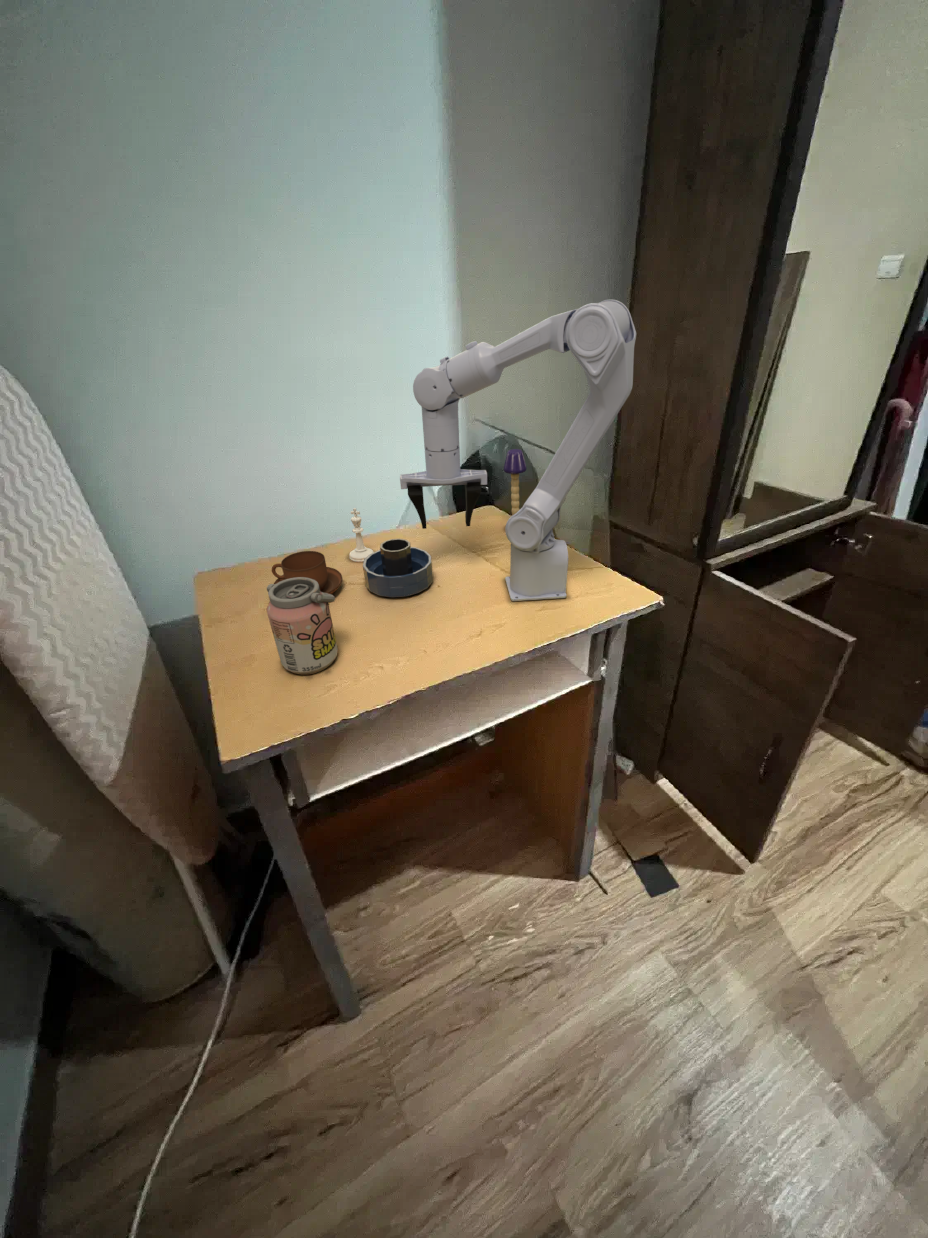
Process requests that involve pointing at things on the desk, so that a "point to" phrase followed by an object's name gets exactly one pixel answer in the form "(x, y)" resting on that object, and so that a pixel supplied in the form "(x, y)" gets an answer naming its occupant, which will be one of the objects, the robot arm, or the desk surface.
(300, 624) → the beverage can
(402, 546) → the cup
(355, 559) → the chess piece
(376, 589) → the bowl
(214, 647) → the desk surface
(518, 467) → the toy lamp
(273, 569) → the cup and saucer
